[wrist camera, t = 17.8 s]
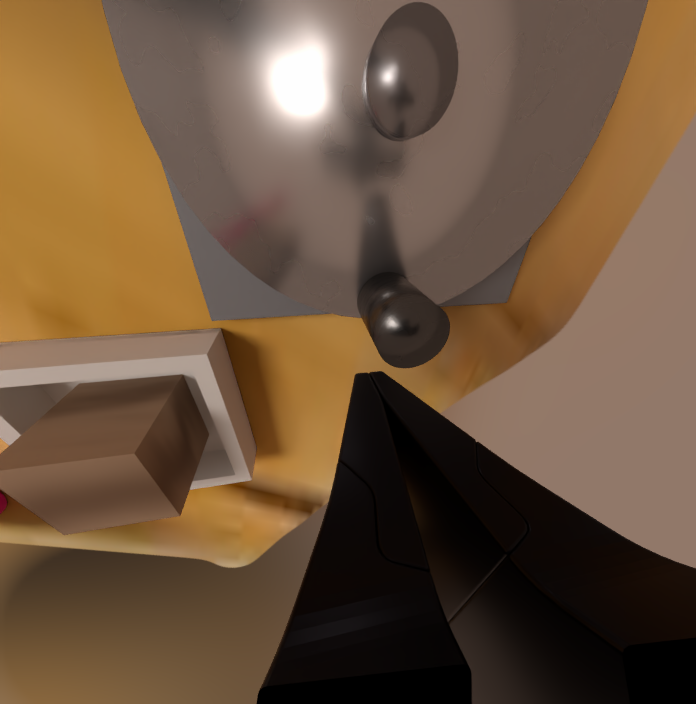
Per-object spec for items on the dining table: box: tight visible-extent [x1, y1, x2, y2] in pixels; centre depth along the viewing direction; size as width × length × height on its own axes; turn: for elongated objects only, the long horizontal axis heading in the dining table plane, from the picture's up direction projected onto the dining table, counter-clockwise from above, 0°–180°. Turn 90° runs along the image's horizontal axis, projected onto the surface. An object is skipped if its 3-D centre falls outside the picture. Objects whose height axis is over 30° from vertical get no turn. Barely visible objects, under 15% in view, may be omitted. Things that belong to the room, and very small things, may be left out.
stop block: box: [0, 374, 209, 535], centre depth 15 cm, size 6×6×6 cm
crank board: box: [162, 164, 531, 321], centre depth 11 cm, size 19×19×1 cm
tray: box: [0, 328, 257, 490], centre depth 17 cm, size 12×12×3 cm
